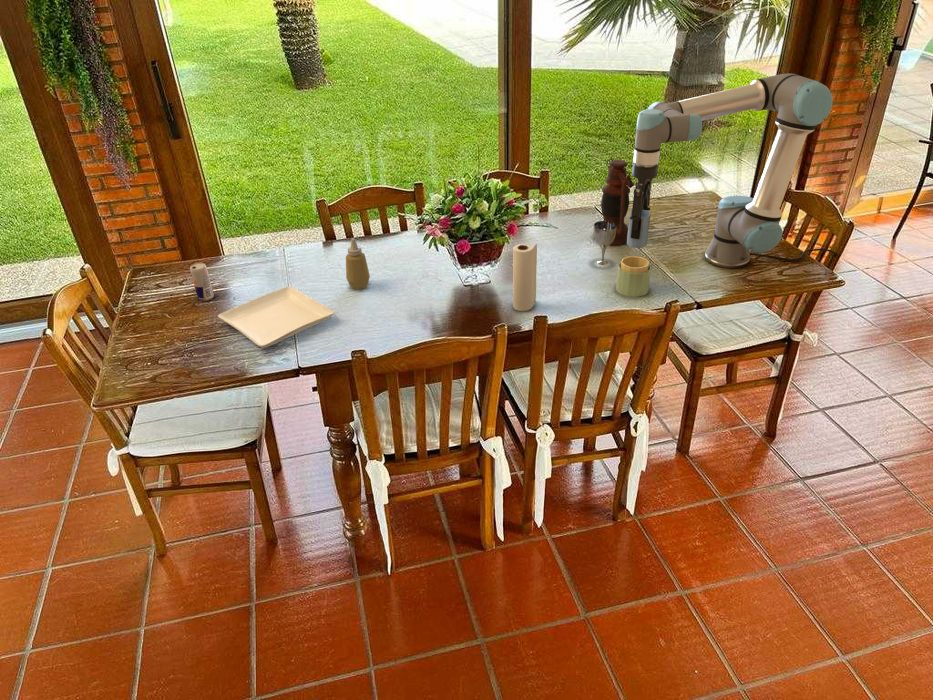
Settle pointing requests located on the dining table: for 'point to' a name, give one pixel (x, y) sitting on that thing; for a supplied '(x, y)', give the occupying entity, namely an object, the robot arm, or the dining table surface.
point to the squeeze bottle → (356, 267)
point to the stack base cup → (632, 282)
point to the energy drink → (201, 281)
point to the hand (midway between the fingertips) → (638, 233)
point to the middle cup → (634, 264)
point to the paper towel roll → (524, 276)
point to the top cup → (643, 233)
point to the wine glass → (604, 236)
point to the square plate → (276, 316)
